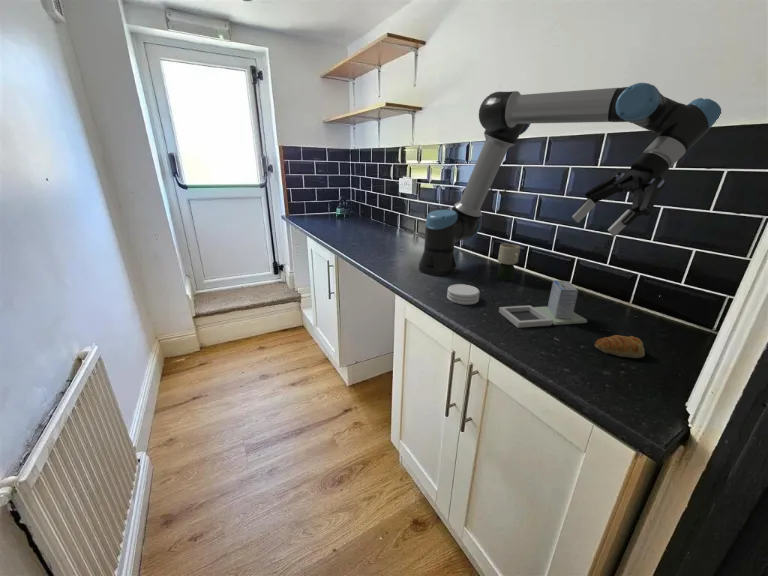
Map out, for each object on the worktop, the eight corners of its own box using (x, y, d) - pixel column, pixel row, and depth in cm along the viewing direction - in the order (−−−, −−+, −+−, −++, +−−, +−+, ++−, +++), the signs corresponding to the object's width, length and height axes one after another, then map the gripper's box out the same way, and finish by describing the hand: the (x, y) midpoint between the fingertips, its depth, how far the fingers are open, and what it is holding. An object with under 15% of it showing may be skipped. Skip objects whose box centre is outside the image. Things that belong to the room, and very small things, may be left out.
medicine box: (571, 320, 89) (579, 290, 86) (554, 318, 90) (561, 289, 87) (562, 308, 97) (569, 281, 93) (546, 307, 97) (552, 279, 94)
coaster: (441, 295, 107) (441, 285, 105) (466, 292, 110) (467, 282, 109) (458, 307, 98) (459, 296, 97) (485, 303, 102) (486, 292, 100)
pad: (532, 309, 97) (532, 307, 97) (561, 307, 99) (562, 305, 99) (554, 325, 88) (555, 322, 88) (586, 322, 90) (587, 320, 90)
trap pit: (498, 311, 95) (499, 307, 95) (529, 309, 97) (530, 305, 96) (518, 327, 86) (519, 322, 85) (551, 325, 88) (552, 320, 87)
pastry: (603, 357, 74) (607, 343, 72) (587, 342, 80) (591, 329, 79) (646, 360, 73) (651, 345, 72) (626, 345, 80) (631, 331, 78)
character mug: (521, 283, 119) (528, 249, 114) (504, 284, 117) (510, 249, 113) (504, 274, 129) (510, 242, 124) (488, 275, 127) (493, 242, 123)
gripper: (712, 176, 74) (636, 248, 80) (624, 164, 96) (569, 222, 102) (699, 154, 71) (621, 231, 77) (611, 148, 93) (555, 208, 99)
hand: (591, 226), depth 89 cm, fingers open, 13 cm apart
